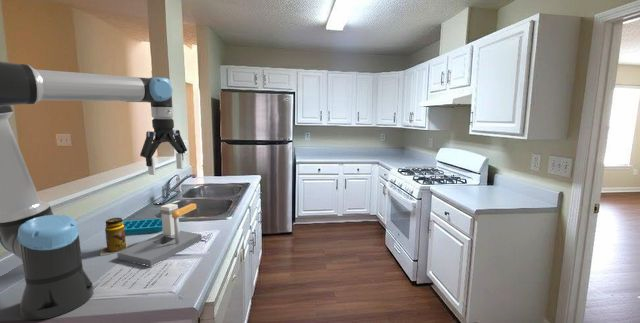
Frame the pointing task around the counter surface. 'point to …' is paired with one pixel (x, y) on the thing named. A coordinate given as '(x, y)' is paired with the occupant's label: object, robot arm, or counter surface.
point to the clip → (178, 213)
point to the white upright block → (168, 218)
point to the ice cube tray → (143, 226)
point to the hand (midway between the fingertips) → (166, 171)
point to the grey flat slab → (158, 248)
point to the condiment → (114, 236)
